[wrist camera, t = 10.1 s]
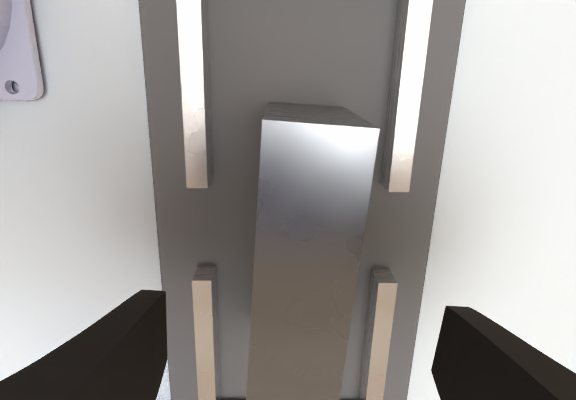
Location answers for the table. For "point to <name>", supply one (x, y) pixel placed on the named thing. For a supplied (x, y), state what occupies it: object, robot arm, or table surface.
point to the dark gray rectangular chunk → (307, 248)
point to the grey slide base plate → (246, 161)
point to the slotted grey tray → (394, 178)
